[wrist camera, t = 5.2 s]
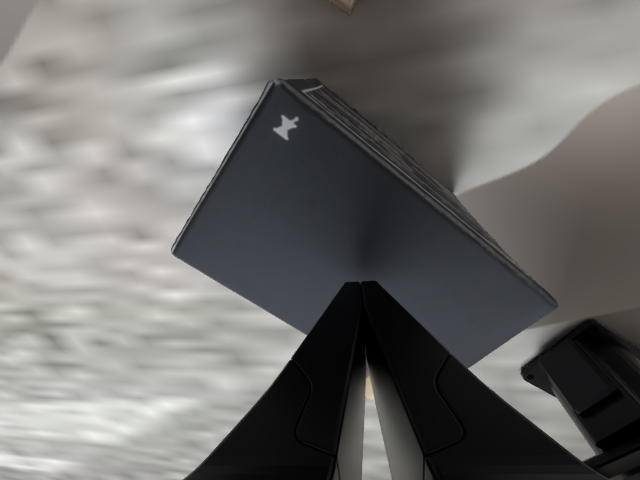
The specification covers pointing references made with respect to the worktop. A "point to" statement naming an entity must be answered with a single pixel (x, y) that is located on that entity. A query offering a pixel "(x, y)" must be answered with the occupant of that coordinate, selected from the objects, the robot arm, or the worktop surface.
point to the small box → (350, 227)
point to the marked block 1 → (345, 5)
